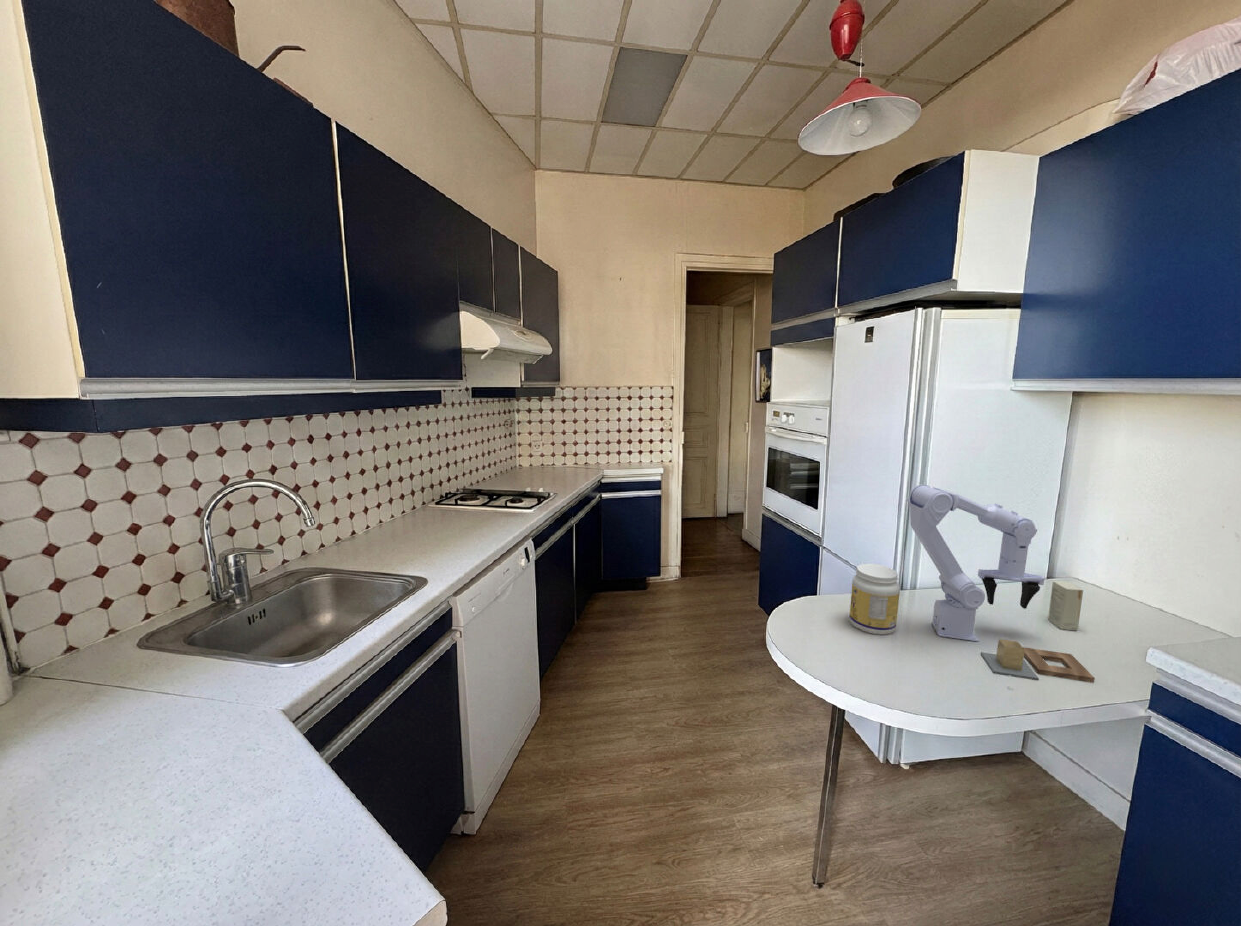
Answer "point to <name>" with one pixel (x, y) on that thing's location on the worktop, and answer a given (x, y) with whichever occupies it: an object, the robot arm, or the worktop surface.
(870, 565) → the supplement tub
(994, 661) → the charcoal mat
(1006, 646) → the brass plug
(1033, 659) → the walnut square frame
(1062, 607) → the skincare box
